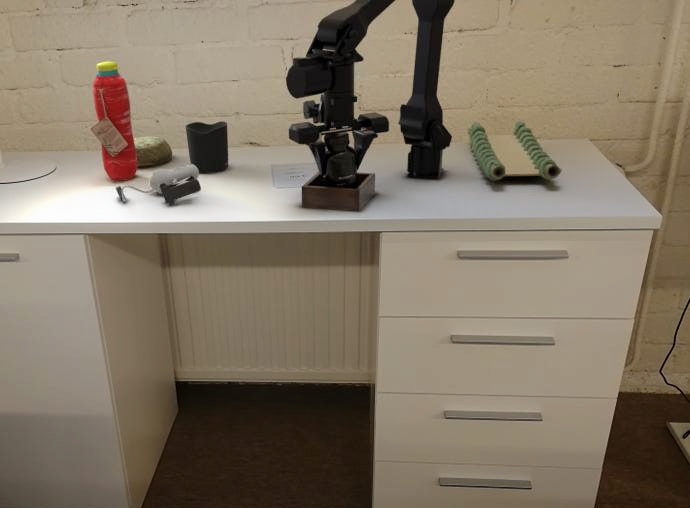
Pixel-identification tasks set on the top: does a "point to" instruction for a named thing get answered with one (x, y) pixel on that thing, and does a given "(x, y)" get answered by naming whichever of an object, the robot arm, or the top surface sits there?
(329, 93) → the robot arm
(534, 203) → the top surface
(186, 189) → the clip-on lamp
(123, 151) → the water bottle
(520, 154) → the stretcher
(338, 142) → the supplement bottle
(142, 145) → the mossy green stone
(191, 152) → the pen holder
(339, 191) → the holder
